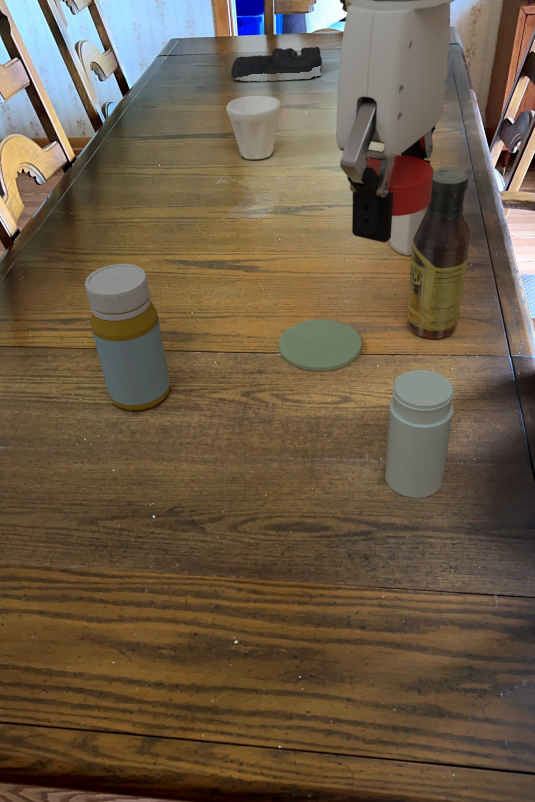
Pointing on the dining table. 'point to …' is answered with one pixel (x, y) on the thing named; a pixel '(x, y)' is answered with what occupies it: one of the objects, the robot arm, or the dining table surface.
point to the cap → (408, 183)
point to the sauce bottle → (439, 258)
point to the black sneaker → (278, 62)
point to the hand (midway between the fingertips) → (390, 218)
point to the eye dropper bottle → (404, 232)
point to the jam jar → (418, 433)
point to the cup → (254, 124)
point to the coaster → (320, 345)
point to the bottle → (127, 337)
